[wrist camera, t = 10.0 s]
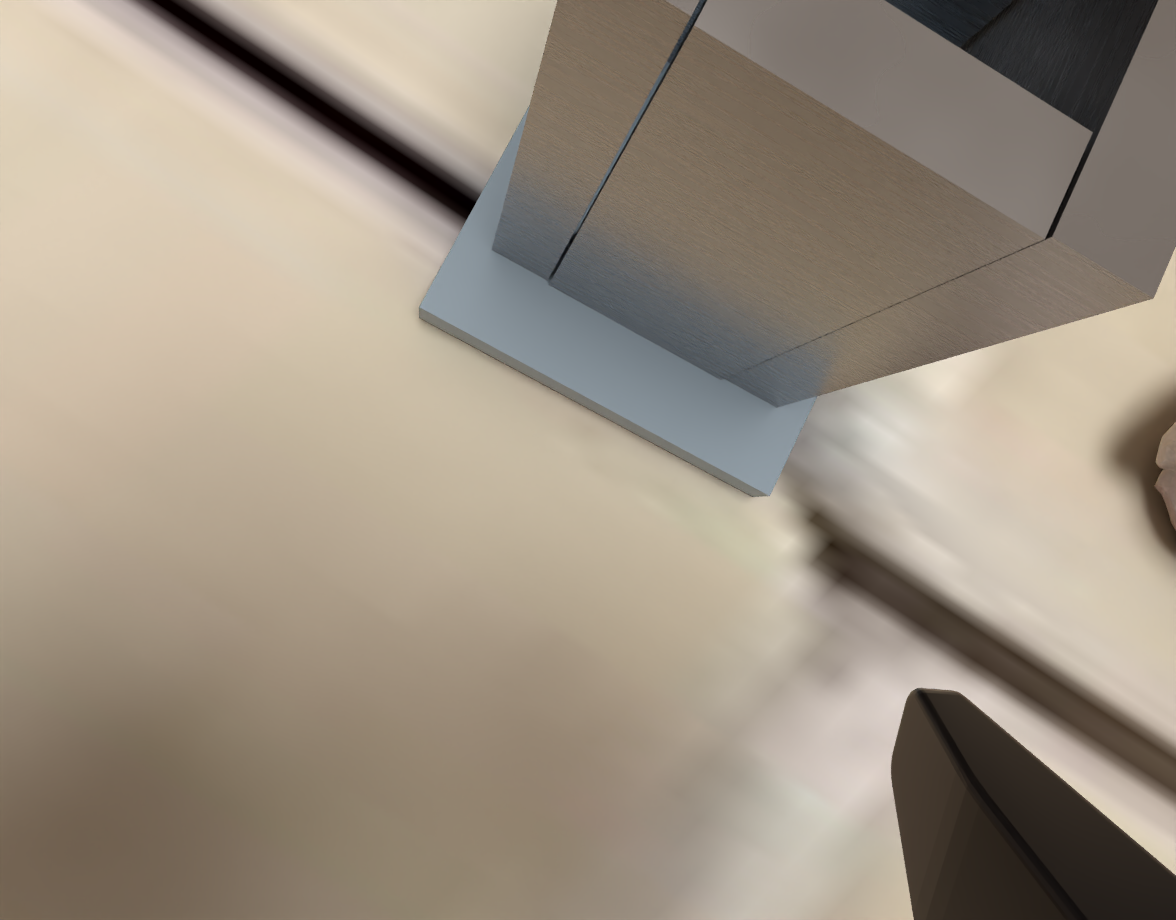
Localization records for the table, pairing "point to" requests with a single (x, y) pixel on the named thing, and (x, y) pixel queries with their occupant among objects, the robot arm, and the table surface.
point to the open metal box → (848, 176)
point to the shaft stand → (603, 353)
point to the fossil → (1168, 471)
